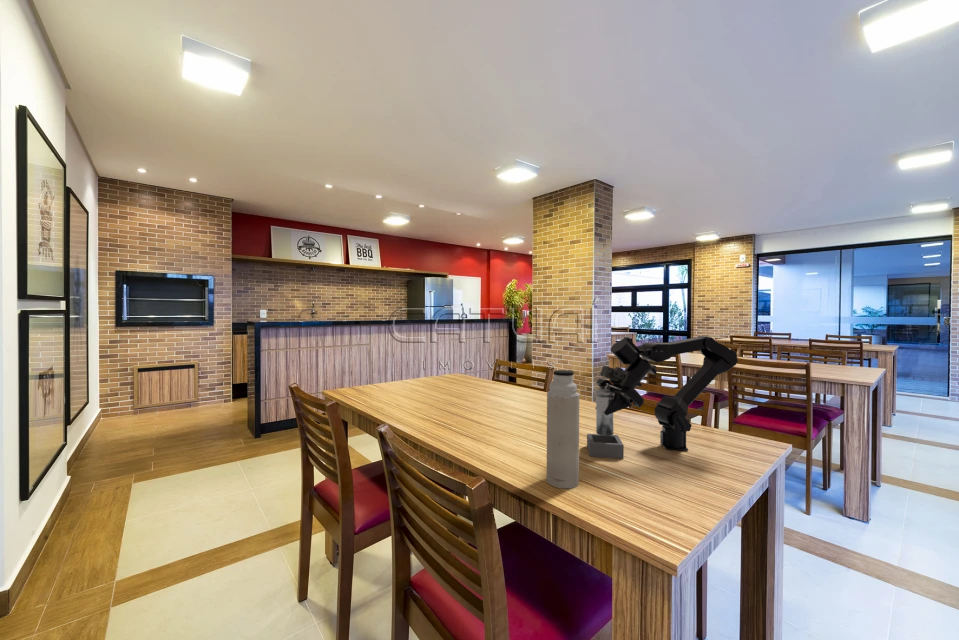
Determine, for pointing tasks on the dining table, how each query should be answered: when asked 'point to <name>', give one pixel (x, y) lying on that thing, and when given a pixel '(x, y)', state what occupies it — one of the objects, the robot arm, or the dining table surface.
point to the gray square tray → (605, 446)
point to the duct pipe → (603, 421)
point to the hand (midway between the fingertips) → (600, 411)
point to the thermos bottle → (563, 431)
